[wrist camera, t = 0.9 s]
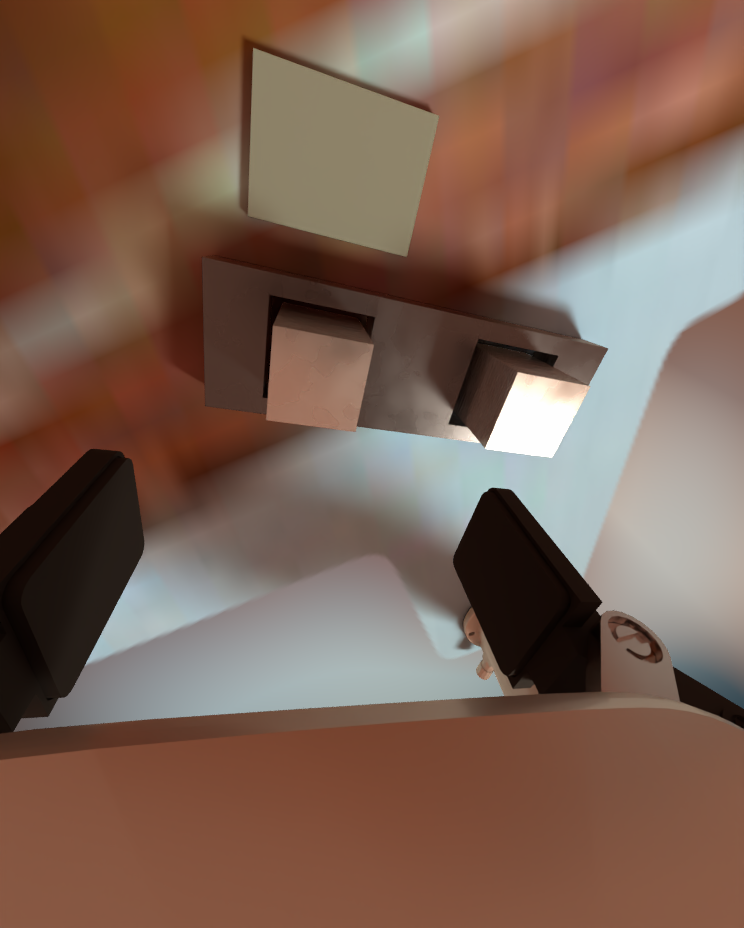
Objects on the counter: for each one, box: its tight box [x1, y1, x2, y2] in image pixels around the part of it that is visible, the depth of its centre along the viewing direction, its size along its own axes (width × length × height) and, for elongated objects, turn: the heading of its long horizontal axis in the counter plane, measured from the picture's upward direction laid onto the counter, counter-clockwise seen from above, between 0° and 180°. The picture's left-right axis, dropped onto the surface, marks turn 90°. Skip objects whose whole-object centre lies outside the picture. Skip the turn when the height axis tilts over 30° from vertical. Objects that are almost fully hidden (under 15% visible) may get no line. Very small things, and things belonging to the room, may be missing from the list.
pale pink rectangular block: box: [266, 302, 374, 432], centre depth 23 cm, size 5×5×8 cm
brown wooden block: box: [453, 343, 590, 457], centre depth 26 cm, size 5×5×8 cm
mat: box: [248, 48, 439, 257], centre depth 21 cm, size 7×10×1 cm
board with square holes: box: [202, 255, 608, 443], centre depth 26 cm, size 9×28×3 cm, turn 77°
